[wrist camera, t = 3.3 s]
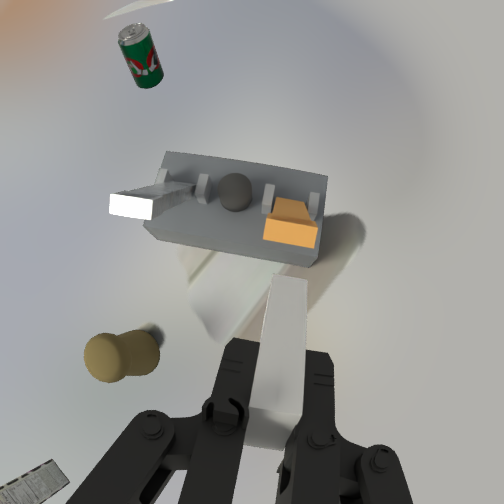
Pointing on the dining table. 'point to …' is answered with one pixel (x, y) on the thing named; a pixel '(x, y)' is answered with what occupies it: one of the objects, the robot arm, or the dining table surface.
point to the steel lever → (151, 199)
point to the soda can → (140, 55)
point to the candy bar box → (34, 485)
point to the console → (236, 223)
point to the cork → (121, 355)
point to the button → (235, 192)
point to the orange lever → (290, 224)
